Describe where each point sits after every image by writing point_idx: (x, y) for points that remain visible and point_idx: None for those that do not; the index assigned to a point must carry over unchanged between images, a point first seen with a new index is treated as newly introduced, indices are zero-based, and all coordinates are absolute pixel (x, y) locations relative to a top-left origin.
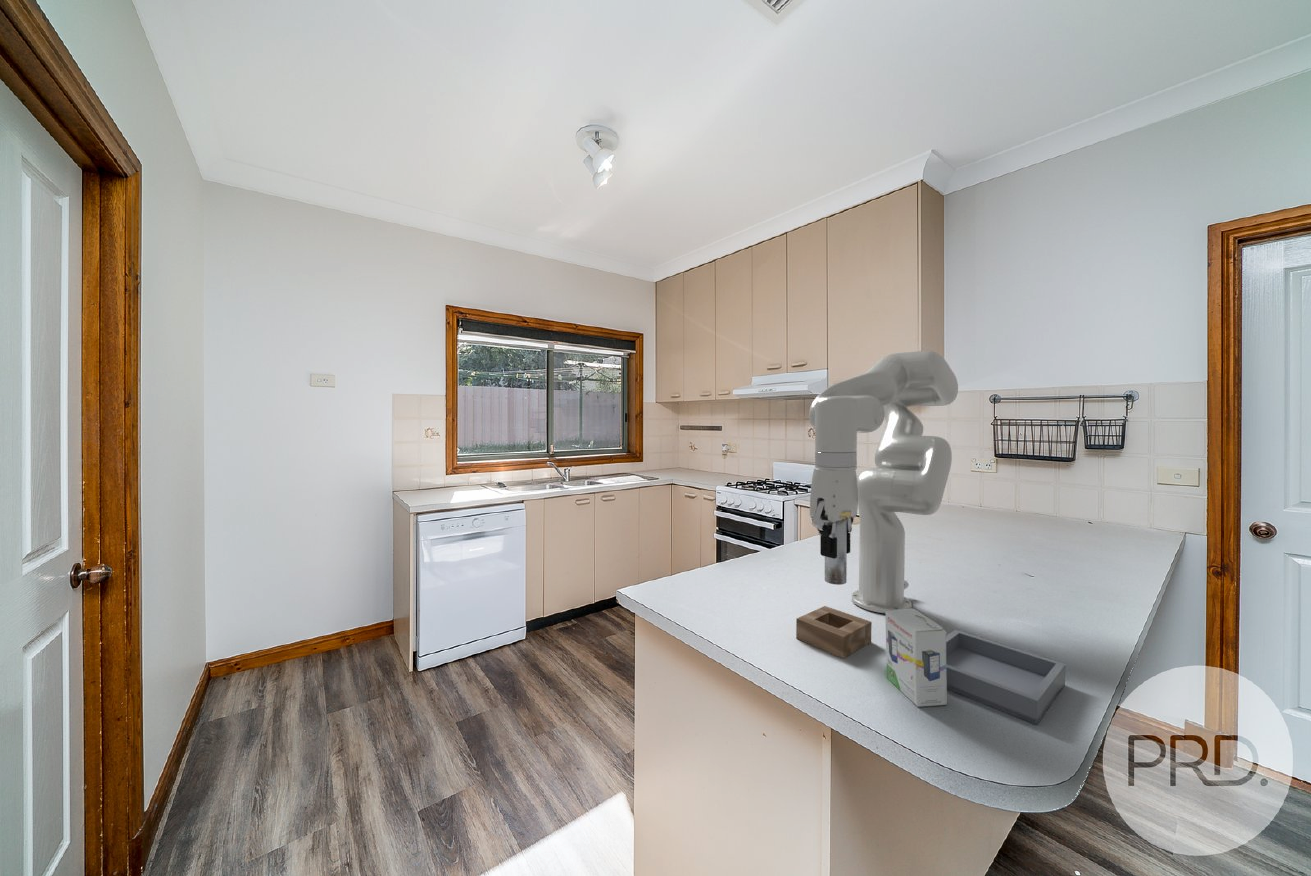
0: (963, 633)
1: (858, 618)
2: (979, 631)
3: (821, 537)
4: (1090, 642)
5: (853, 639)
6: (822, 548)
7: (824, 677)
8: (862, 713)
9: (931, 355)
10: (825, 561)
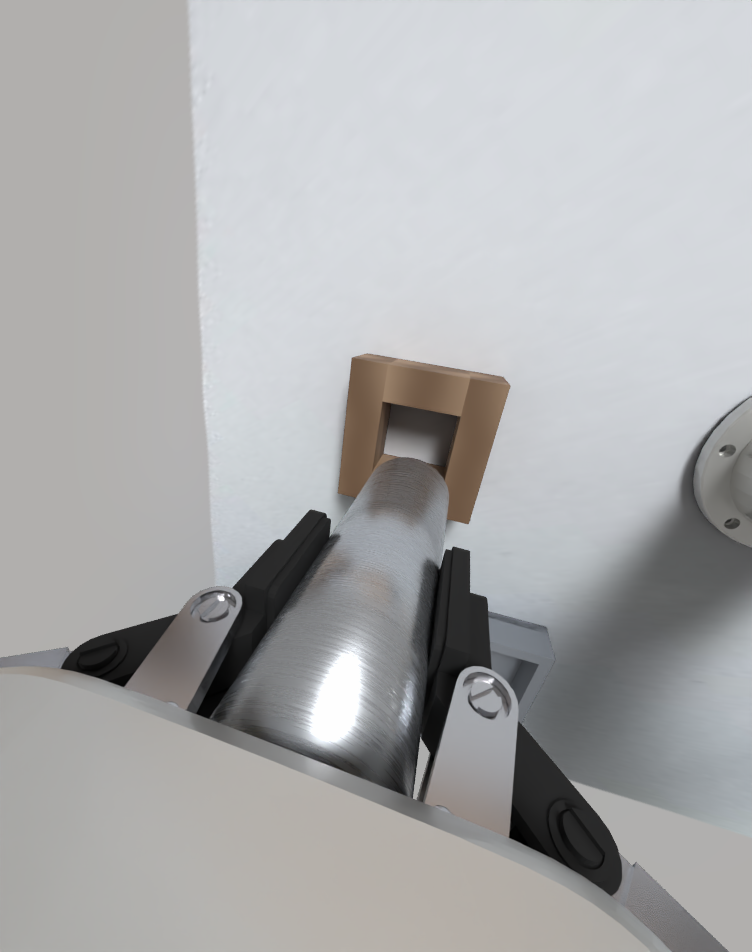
0: (541, 670)
1: (469, 494)
2: (679, 666)
3: (254, 579)
4: (723, 796)
5: None
6: (269, 549)
7: (266, 466)
8: (229, 534)
9: None
10: (353, 505)
